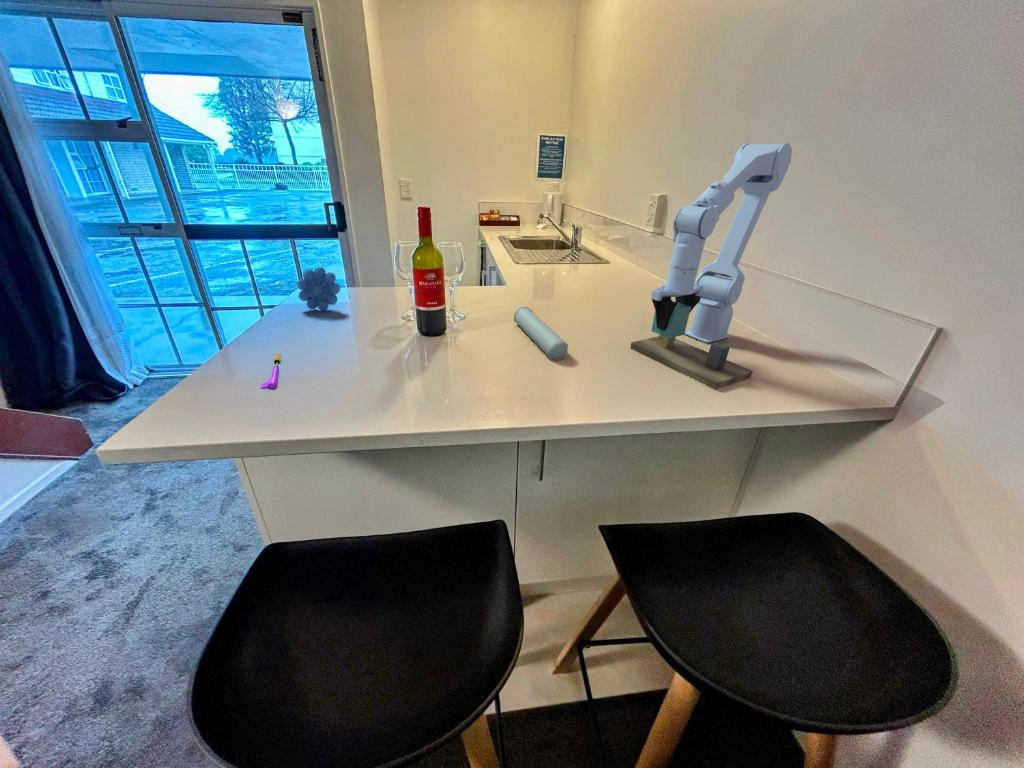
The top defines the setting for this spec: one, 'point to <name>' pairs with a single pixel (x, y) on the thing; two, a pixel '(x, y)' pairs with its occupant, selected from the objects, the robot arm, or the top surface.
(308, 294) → the grapes
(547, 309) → the top surface
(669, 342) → the brass post
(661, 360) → the brown wooden board
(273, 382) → the purple bent rod
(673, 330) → the teal block
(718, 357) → the graphite post
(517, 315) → the tube
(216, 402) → the top surface
